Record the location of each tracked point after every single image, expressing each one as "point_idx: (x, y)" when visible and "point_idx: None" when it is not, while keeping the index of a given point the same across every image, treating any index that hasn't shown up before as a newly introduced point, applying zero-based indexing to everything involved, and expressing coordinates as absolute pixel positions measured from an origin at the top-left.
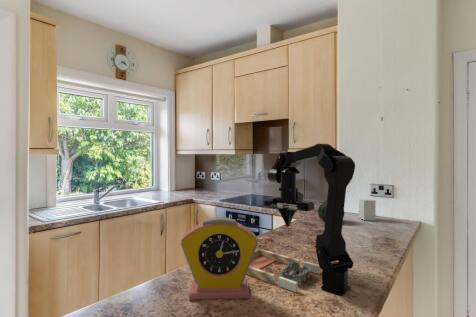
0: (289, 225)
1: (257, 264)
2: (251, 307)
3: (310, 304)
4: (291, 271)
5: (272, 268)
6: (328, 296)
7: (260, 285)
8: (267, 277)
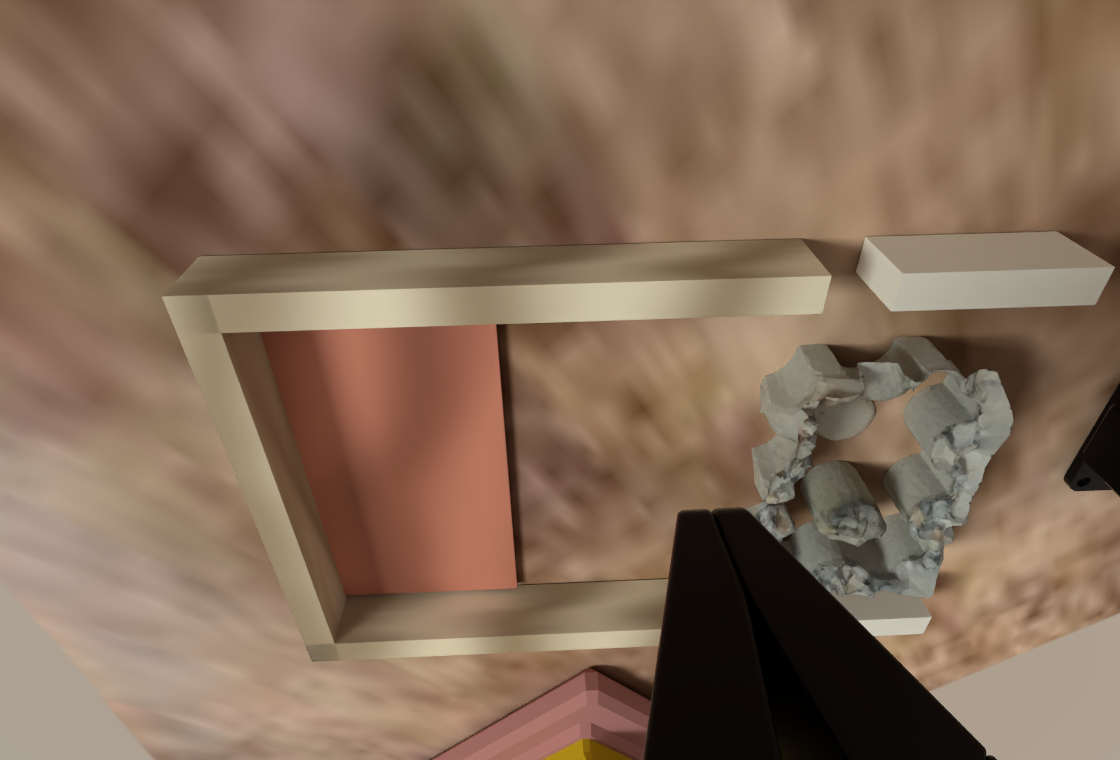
0: (754, 534)
1: (436, 473)
2: None
3: (1003, 619)
4: (842, 536)
5: (584, 434)
6: (1110, 516)
7: None
8: None
